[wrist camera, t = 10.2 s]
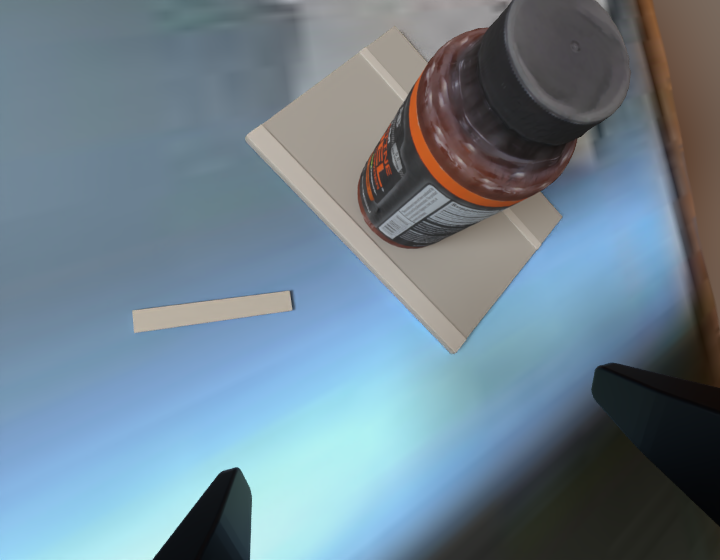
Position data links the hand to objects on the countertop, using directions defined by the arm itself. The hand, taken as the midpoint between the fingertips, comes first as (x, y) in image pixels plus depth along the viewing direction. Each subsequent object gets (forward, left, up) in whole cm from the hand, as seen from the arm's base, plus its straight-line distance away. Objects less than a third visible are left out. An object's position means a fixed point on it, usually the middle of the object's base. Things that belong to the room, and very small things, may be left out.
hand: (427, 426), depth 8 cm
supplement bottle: (+4, -9, -10) cm, 14 cm away
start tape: (+7, +2, -10) cm, 12 cm away
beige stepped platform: (+4, -11, -10) cm, 15 cm away
